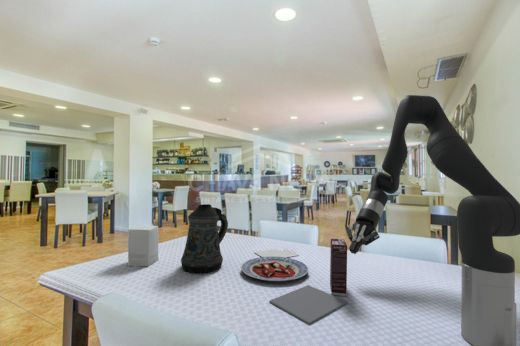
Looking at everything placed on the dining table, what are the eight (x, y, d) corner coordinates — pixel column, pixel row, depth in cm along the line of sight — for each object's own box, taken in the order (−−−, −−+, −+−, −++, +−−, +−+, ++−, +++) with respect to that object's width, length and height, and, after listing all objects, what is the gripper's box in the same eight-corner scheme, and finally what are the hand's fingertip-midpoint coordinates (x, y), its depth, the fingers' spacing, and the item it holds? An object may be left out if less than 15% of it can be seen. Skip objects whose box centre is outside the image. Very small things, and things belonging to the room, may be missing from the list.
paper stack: (245, 248, 136) (245, 247, 136) (285, 242, 148) (285, 241, 148) (267, 261, 116) (267, 260, 116) (313, 254, 127) (313, 252, 127)
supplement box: (347, 296, 82) (347, 245, 82) (331, 295, 83) (331, 244, 83) (344, 285, 91) (344, 238, 91) (329, 284, 92) (330, 238, 92)
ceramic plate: (249, 290, 87) (249, 281, 87) (235, 264, 112) (235, 257, 112) (320, 282, 94) (320, 273, 94) (292, 259, 119) (292, 252, 119)
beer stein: (172, 271, 102) (172, 206, 102) (198, 256, 121) (198, 201, 121) (210, 276, 97) (211, 208, 97) (232, 260, 116) (232, 203, 116)
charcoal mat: (347, 303, 78) (347, 301, 78) (309, 324, 67) (309, 322, 67) (308, 286, 90) (308, 285, 90) (269, 302, 78) (269, 300, 78)
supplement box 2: (159, 259, 116) (159, 225, 116) (148, 267, 107) (148, 229, 107) (139, 259, 117) (139, 224, 117) (127, 266, 108) (127, 229, 108)
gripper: (350, 205, 104) (331, 242, 96) (384, 209, 94) (366, 250, 86) (357, 217, 107) (340, 254, 99) (391, 222, 97) (374, 263, 89)
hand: (352, 252), depth 93 cm, fingers closed
